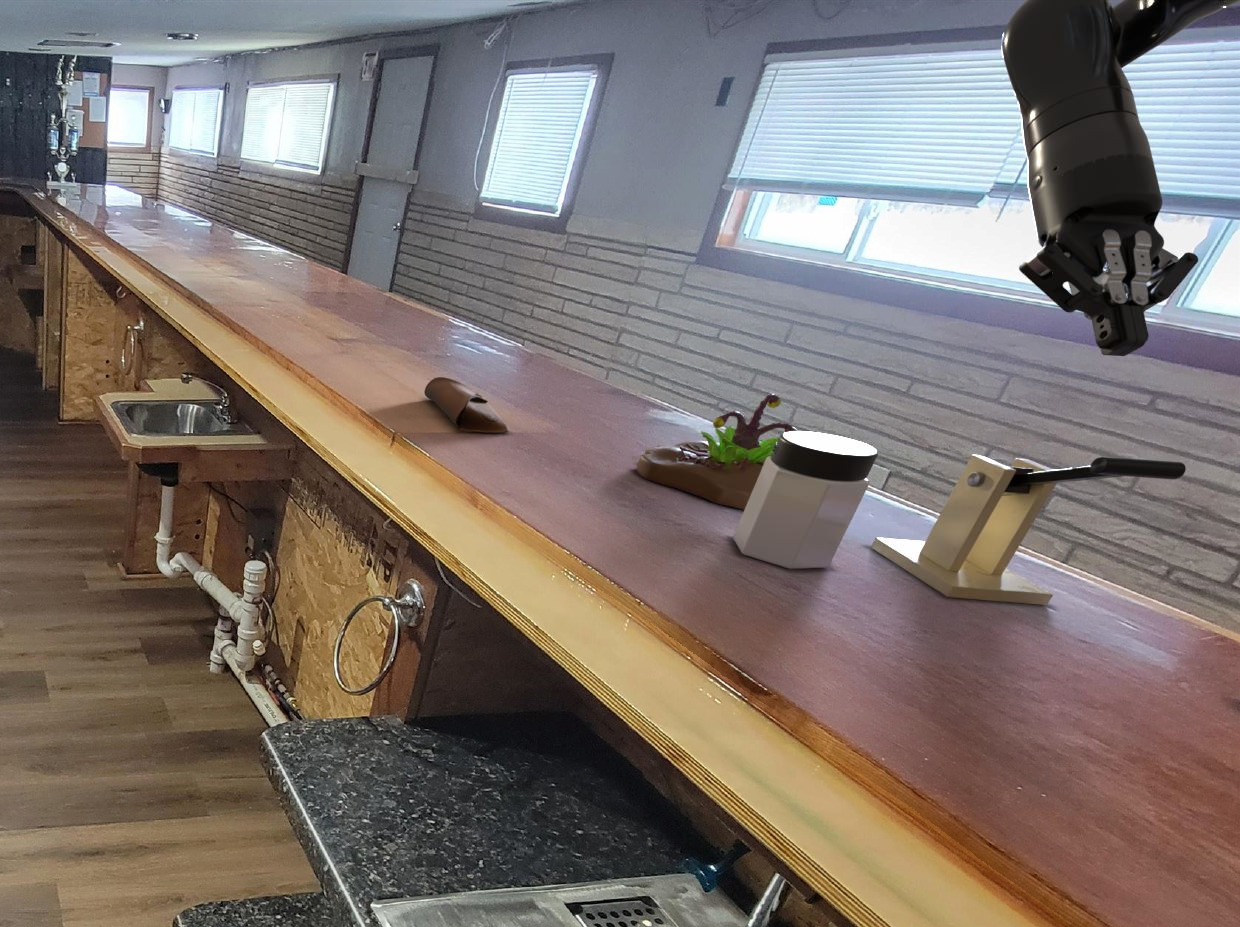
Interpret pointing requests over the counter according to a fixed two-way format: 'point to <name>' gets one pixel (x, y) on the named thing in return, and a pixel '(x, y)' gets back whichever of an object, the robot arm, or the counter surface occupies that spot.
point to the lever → (1095, 473)
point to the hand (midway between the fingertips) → (1124, 350)
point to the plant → (716, 459)
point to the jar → (804, 499)
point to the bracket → (977, 537)
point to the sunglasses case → (464, 406)
